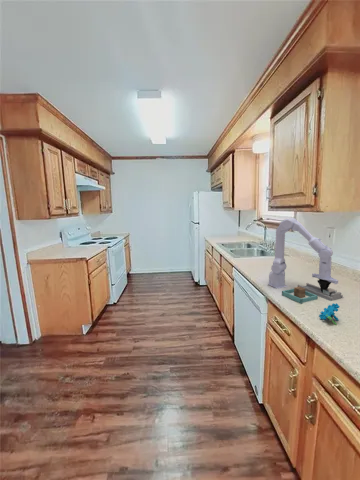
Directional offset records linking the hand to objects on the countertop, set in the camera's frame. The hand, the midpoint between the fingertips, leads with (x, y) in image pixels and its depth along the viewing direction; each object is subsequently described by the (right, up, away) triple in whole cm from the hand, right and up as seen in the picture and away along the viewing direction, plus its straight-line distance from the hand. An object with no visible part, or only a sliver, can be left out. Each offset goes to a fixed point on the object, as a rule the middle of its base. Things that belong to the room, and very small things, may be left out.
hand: (323, 292), depth 133 cm
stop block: (-15, -2, -1) cm, 15 cm away
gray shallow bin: (-1, -1, +3) cm, 4 cm away
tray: (-15, -3, -1) cm, 15 cm away
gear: (-14, -7, -27) cm, 31 cm away
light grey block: (+1, -2, -3) cm, 4 cm away
